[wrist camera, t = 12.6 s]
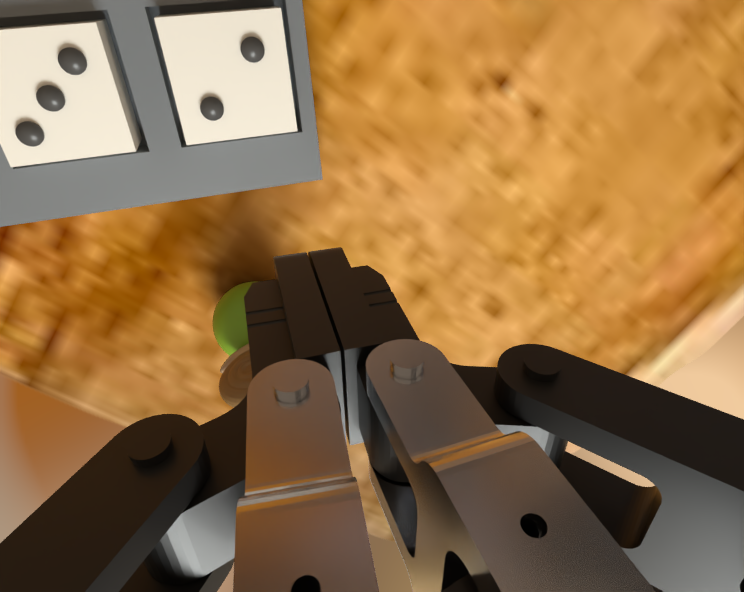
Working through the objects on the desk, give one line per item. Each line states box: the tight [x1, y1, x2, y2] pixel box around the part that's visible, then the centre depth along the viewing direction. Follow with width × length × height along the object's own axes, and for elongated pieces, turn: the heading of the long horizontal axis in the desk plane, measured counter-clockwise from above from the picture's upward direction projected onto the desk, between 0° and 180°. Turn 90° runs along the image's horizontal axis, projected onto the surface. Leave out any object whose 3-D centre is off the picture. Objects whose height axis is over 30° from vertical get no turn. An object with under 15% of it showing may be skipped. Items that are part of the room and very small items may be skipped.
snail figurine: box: [213, 281, 259, 407], centre depth 31 cm, size 5×6×12 cm
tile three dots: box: [0, 19, 142, 167], centre depth 24 cm, size 6×6×3 cm
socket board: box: [0, 0, 322, 227], centre depth 25 cm, size 12×24×3 cm, turn 93°
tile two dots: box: [154, 6, 297, 145], centre depth 25 cm, size 6×6×3 cm
